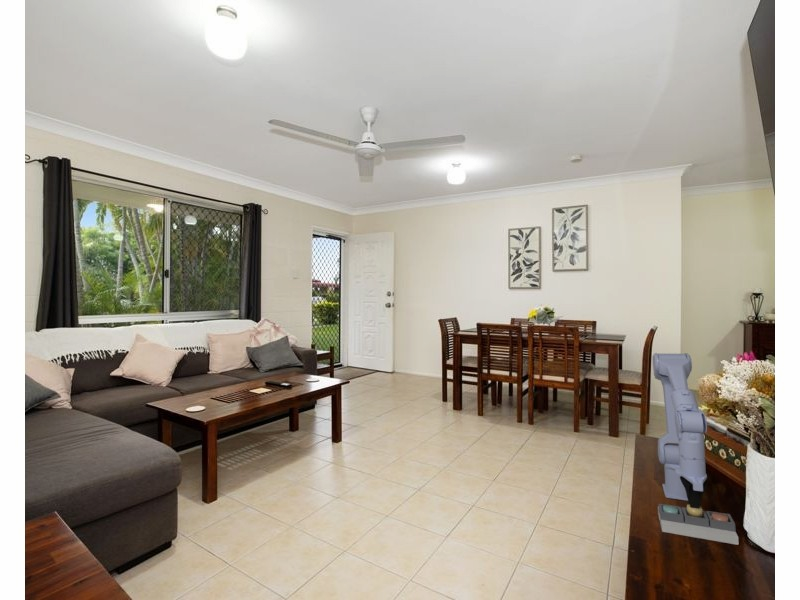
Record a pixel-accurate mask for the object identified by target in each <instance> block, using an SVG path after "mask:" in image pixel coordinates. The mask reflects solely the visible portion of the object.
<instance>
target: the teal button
mask: <svg viewBox="0 0 800 600" xmlns="http://www.w3.org/2000/svg"><path fill="white" fill-rule="evenodd" d="M674 506H675V505H670V504H665V505H664V506H663V512H668V513H674V514H678V509H677V508H676V507H674Z"/></svg>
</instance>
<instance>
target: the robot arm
mask: <svg viewBox="0 0 800 600" xmlns="http://www.w3.org/2000/svg"><path fill="white" fill-rule="evenodd" d="M652 369H653V376H654V379H656V380H658V381H660V383H661V385H662V391H663V392H662V393H663V401H664V412H665V420H666V421H665V422H666V423H665V425H666V432H665V434H663V435H662V436H660V437H659V438H658V440H657V457H658V460H659V462H660V464H662V465H664V466H663V467H664V468H663V469H664V483H661V485H662V488H663V489H662V490H663V493H664V496H665V498H667V499H672V500H681V501H686V502H688V504H689V505H690V507H693V508H700V507H701V503H702V499H703V495H704V494H705V491H706V490H707V488H708V484H707V483H706V482H707V481H706V480H707V479H708V475H707V473H706V472H707V471H706V469H707V468H706V452H705V451H706V449H705V434H707V430H708V424H707V419H706V418H707V417H706V415H705V413H704V411H703V410H702V408H699V405H698V401H697V397H696V395H695V394H696V393H694V392H693V391H692V390H691V389H689V387H688V385H689V384H688V379H689V376H690V374H691V372H692V370H693V363H692V358H691V355H690V354H689V353H657V352H654V353H653V355H652Z"/></svg>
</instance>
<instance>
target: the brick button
mask: <svg viewBox="0 0 800 600" xmlns="http://www.w3.org/2000/svg"><path fill="white" fill-rule="evenodd" d="M713 512H714V513H712V519H713V520H719V521H726V522H728V516H727V515H725V514H726V513H725V514H722V512H718V511H713Z"/></svg>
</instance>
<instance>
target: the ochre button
mask: <svg viewBox="0 0 800 600" xmlns="http://www.w3.org/2000/svg"><path fill="white" fill-rule="evenodd" d="M686 508H687V514H688V515H690V516H694V517H700V518H701V517H702V516H703V514H702V510H703V507H702V506H700V508H693V507H690V505H689V503H688V504H686Z"/></svg>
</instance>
